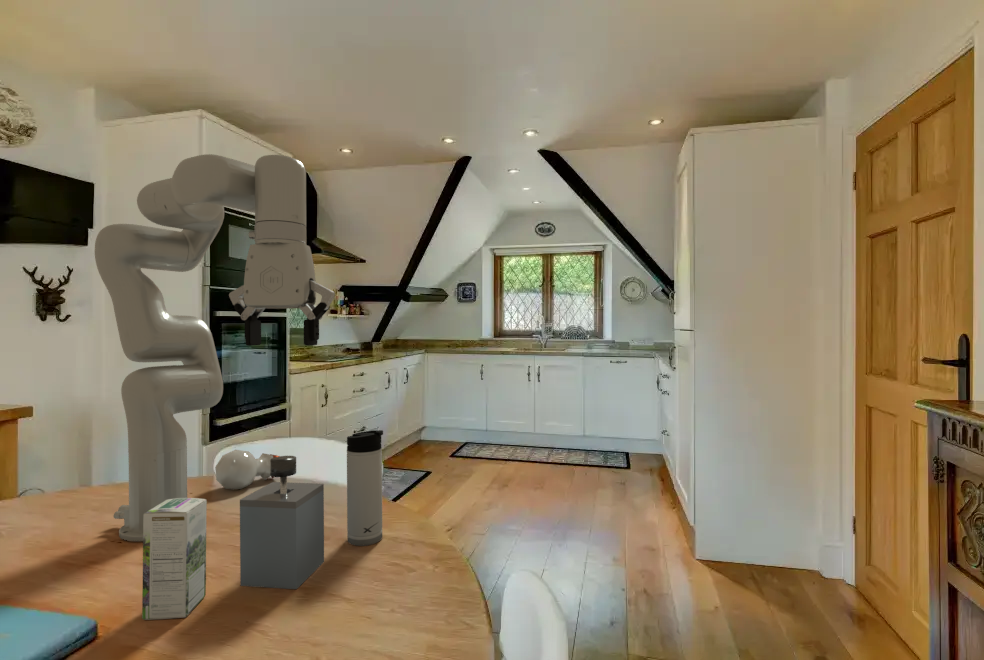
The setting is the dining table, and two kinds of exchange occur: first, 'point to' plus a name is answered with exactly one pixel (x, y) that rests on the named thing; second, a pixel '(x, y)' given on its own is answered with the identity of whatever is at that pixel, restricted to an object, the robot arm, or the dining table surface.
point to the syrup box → (174, 558)
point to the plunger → (283, 470)
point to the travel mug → (364, 488)
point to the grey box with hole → (281, 535)
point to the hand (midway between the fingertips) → (281, 345)
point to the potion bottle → (242, 469)
